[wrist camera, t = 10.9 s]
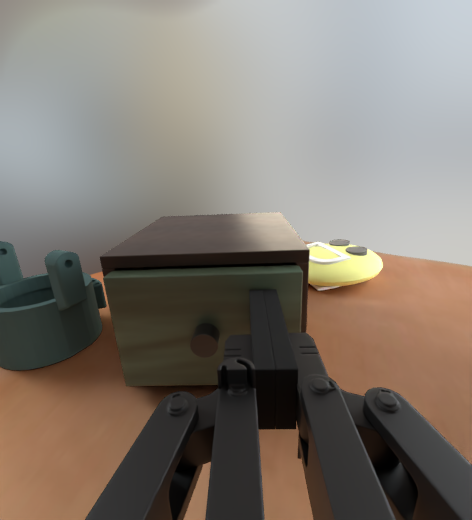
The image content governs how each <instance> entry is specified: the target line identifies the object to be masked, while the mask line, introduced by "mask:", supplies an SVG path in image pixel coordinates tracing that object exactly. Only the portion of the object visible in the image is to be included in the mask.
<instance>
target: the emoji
mask: <svg viewBox="0 0 472 520" xmlns="http://www.w3.org/2000/svg"><path fill="white" fill-rule="evenodd" d="M306 246H307V247H308V248H309V250H310V256H309V277H308V283H309V284H311V285H312V286H313V287H314V288H316V289H317V290H318V291H320V290H326V289H332V288H337V287H339V286H347V285H352V284H357V283H361V282H364V281H367V280H369V279H372V278H373V277H375V276H376V275H377V274H378V273H379V272H380V271H381V269H382V267H383V263H382V260H381V259H380V257H379V256H378V255H376V254H375V253H374V252H372V251H370V250H368V249H367V248H365V247H360V246H354V245H349V241H348V240H342V239H338V240H332V241H330V242H329V244H323V243H321V242H315V243H311V244H307V245H306Z"/></svg>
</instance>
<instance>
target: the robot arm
mask: <svg viewBox="0 0 472 520" xmlns="http://www.w3.org/2000/svg"><path fill="white" fill-rule="evenodd" d="M249 300H250V335H230V336H229V337H228V339H227V340H226V341H225V351H224V360H223V362H222V363H221V364H220V365H219V366H218V369H217V376H218V388H217V389H216V390H215V391H214V392H213V393H211V394H209V395H207V396H204V397H200V398H197V399H196V397H195V396H194V395H193V394H191V393H188V392H186V391H178V392H175V393H171V394H170V395H168V396H166V397H165V398H164V399H163V400H162V401H161V402H160V403H159V405H158V406H157V408H156V409H155V411H154V413H153V414H152V416H151V417H150V419H149V420H148V422H147V423H146V425H145V427H144V428H143V430H142V431H141V433H140V434H139V436H138V438H137V439H136V441H135V442H134V444H133V445H132V447H131V448H130V450H129V452H128V453H127V455H126V456H125V458H124V459H123V461H122V463H121V464H120V466H119V467H118V469H117V470H116V472H115V473H114V475H113V477H112V478H111V480H110V481H109V483H108V484H107V486H106V488H105V489H104V491H103V492H102V494H101V495H100V497H99V498H98V500H97V502H96V503H95V505H94V506H93V508H92V509H91V511H90V512H89V514H88V516H87V517H86V519H85V520H183V519H184V516H185V513H186V511H187V508H188V505H189V502H190V500H191V497H192V494H193V491H194V489H195V486H196V483H197V481H198V478H199V475H200V472H201V470H202V466H203V464H205V463H208V462H211V469H210V479H209V489H208V499H207V509H206V519H205V520H264V505H263V490H262V475H261V460H260V445H259V430H258V429H275V427H276V429H296V421H297V425H298V430H299V439H298V458H302V463H303V468H304V473H305V479H306V484H307V489H308V494H309V499H310V504H311V509H312V514H313V519H314V520H472V465H471V464H470V463H469V462H468V461H467V460H466V459H465V458H464V457H463V456H462V455H461V454H460V453H459V452H458V451H457V450H456V449H455V448H454V447H453V446H452V445H451V444H450V443H449V442H448V441H447V440H446V439H445V438H444V437H443V436H442V435H441V434H440V433H439V432H438V431H437V430H436V429H435V428H434V427H433V426H432V425H431V424H430V423H429V422H428V421H427V420H426V419H425V418H424V417H423V416H422V415H421V414H420V413H419V412H418V411H417V410H416V409H415V408H414V407H413V406H412V405H411V404H410V403H409V402H408V401H407V400H406V399H405V398H403V397H402V396H401V395H399V394H398V393H396V392H394V391H392V390H390V389H386V388H382V387H377V388H372V389H369V390H368V391H367V392H366V394H365V396H361V395H357V394H352V393H349V392H346V391H344V390H342V389H340V388H339V386H338V385H337V384H336V382H335V381H334V380H332V379H331V378H330V377H328V374H327V372H326V369H325V367H324V364H323V362H322V359H321V357H320V355H319V352H318V350H317V348H316V345H315V342H314V340H313V338H312V337H310V336H309V335H308V334H307V333H288V330H287V326H286V323H285V319H284V315H283V312H282V308H281V304H280V301H279V297H278V294H277V290H276V289H262V290H249Z"/></svg>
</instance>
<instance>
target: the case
mask: <svg viewBox="0 0 472 520" xmlns="http://www.w3.org/2000/svg"><path fill="white" fill-rule="evenodd" d="M309 256H310V250H309V248H308V247H307V246H306V245H305V243H304V242H303V241H302V239H301V238H300V237H299V236H298V234H297V233H296V231H295V230H294V229H293V228H292V226H291V225H290V224H289V222H288V221H287V220H286V218H285V217H284V216H283V215H282V213H281V212H275V213H274V212H273V213H249V214H224V215H223V214H221V215H195V216H171V217H170V216H168V217H161V218H160V219H158V220H156V221H155V222H153V223H152V224H150V225H149V226H147V227H145V228H144V229H142V230H141V231H139V232H138V233H136V234H135V235H133V236H131V237H130V238H128V239H127V240H125V241H124V242H122V243H120V244H119V245H117V246H116V247H114V248H113V249H111V250H110V251H108V252H106V253H105V254H103V255H102V256H100V261H101V266H102V268H103V269H102V271H103V276H104V277H105V276H106V275H107V274H109V273H110V272H111V271H120V270H133V268H140V267H172V266H204V265H236V264H268V263H284V265H299V266H300V268H301V270H302V272H303V283H302V310H301V333H306V322H307V299H308V277H309Z"/></svg>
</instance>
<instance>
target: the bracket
mask: <svg viewBox="0 0 472 520" xmlns="http://www.w3.org/2000/svg"><path fill="white" fill-rule="evenodd" d="M45 265H46V268H47V272H48V273H46V274H40V275H36V276H31V277H27V278H23V275H22V272H21V269H20V266H19V263H18V260H17V256H16V253H15V250H14V247H13V245H12V244H10V243H8V242H2V241H0V367H2V368H4V369H9V370H30V369H35V368H40V367H44V366H48V365H51V364H54V363H57V362H60V361H62V360H65V359H67V358H69V357H71V356H73V355H75V354H76V353H78V352H79V351H81V350H83V349H84V348H86V347H87V346H89V345H90V344H92V343H93V342H94V341H95V340H96V339H97V338H98V336H99V335H100V333H101V331H102V323H101V318H100V314H99V309H100V308H105V307H106V306H107V305H106V301H105V296H104V292H103V287H102V284H101V282H100V281H99V280H97V279H94V278H91V276H90V275H89V274H87V273H84V272H82V269H81V265H80V261H79V257H78V255H77V254H76V253H73V252H68V251H61V250H55V251H52V252H50V253H49V254H48V255H47V256H46V257H45Z"/></svg>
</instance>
